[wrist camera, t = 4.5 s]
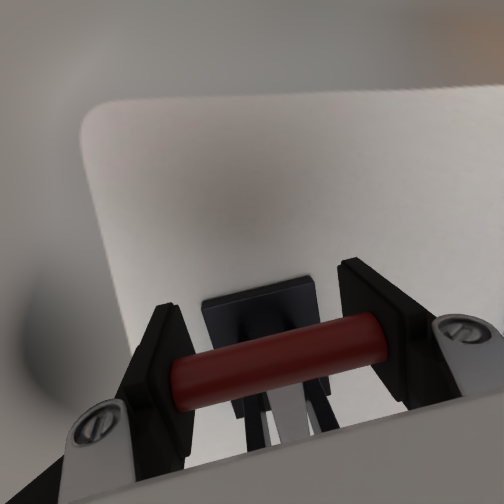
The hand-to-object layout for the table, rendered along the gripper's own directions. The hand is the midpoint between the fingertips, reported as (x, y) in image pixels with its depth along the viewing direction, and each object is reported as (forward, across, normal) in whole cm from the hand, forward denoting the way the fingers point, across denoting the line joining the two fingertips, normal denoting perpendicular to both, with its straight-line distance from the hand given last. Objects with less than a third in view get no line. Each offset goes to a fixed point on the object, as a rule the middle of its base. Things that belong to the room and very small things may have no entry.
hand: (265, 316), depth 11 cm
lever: (0, 0, +5) cm, 5 cm away
